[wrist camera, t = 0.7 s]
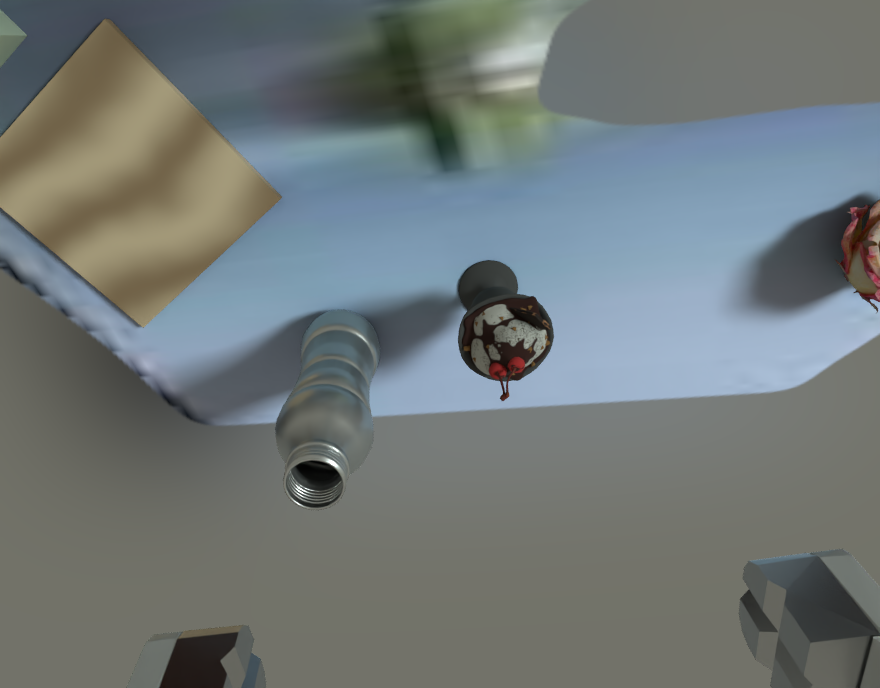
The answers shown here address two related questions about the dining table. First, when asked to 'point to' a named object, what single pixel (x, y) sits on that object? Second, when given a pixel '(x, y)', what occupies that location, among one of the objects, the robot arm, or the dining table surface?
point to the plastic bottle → (328, 409)
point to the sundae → (501, 325)
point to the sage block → (9, 37)
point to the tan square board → (127, 177)
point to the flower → (863, 253)
